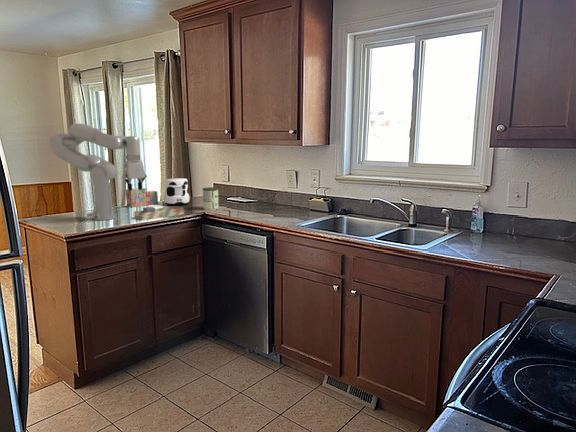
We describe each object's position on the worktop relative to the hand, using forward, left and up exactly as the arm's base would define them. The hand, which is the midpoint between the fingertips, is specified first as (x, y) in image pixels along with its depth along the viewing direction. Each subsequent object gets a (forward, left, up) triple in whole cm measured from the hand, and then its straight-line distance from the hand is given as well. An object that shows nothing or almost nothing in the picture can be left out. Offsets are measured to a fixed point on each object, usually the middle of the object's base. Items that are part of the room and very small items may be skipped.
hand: (135, 189), depth 251 cm
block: (+8, 0, -15) cm, 17 cm away
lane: (+15, 0, -17) cm, 23 cm away
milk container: (+48, +33, -18) cm, 61 cm away
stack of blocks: (+29, +46, -18) cm, 57 cm away
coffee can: (+53, 0, -18) cm, 56 cm away
